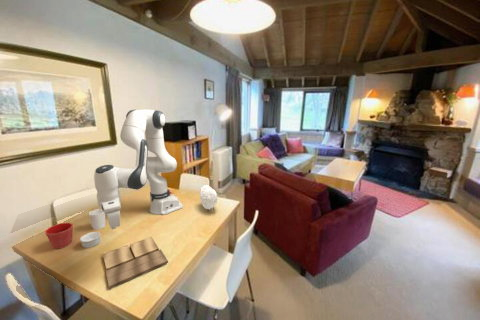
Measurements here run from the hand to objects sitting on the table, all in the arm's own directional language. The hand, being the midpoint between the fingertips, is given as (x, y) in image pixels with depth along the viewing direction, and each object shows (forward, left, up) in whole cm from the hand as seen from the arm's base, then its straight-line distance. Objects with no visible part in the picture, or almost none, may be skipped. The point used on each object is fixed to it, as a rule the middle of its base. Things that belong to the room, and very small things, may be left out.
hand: (113, 226), depth 99 cm
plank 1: (0, +3, -16) cm, 16 cm away
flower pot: (+21, -27, -16) cm, 38 cm away
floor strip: (-6, +15, -16) cm, 23 cm away
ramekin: (+9, -19, -16) cm, 27 cm away
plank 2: (-12, +3, -16) cm, 20 cm away
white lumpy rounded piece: (-61, -15, -16) cm, 65 cm away
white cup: (+4, -35, -16) cm, 39 cm away
